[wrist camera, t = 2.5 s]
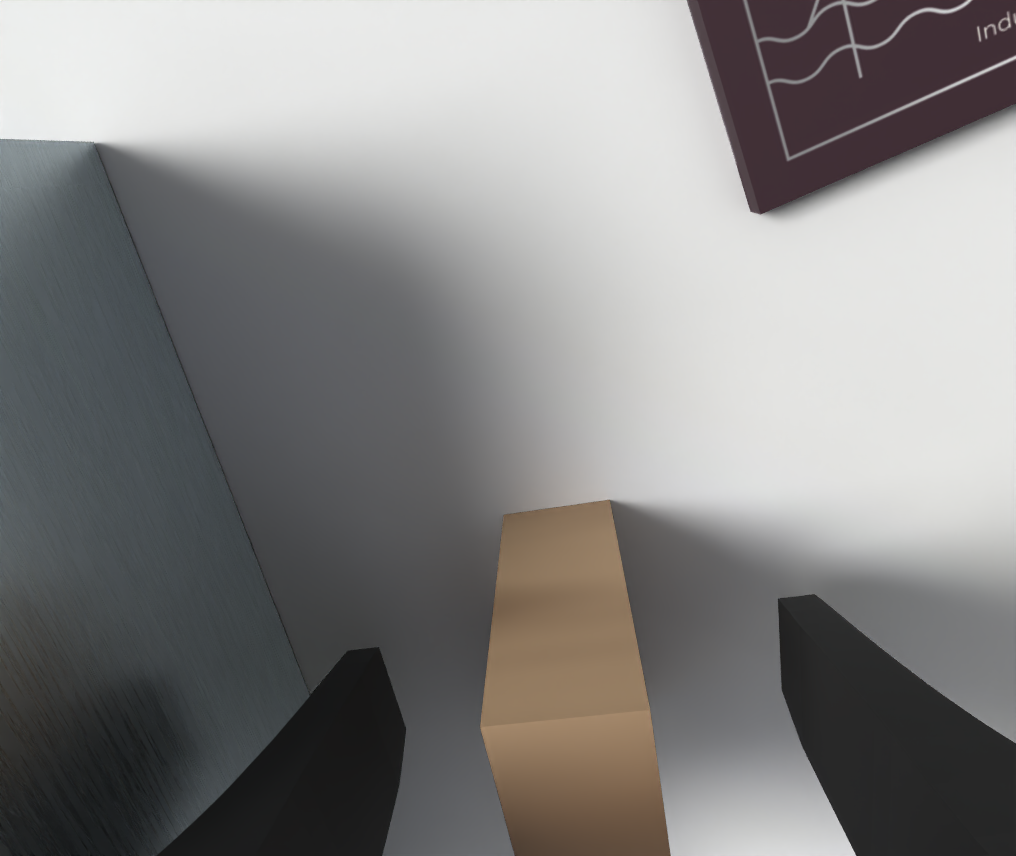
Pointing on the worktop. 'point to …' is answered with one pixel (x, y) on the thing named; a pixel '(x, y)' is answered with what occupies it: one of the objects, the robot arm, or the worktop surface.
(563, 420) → the worktop surface
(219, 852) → the robot arm
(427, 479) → the worktop surface
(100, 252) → the cash box
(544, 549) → the tan rectangular slab
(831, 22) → the chocolate bar
